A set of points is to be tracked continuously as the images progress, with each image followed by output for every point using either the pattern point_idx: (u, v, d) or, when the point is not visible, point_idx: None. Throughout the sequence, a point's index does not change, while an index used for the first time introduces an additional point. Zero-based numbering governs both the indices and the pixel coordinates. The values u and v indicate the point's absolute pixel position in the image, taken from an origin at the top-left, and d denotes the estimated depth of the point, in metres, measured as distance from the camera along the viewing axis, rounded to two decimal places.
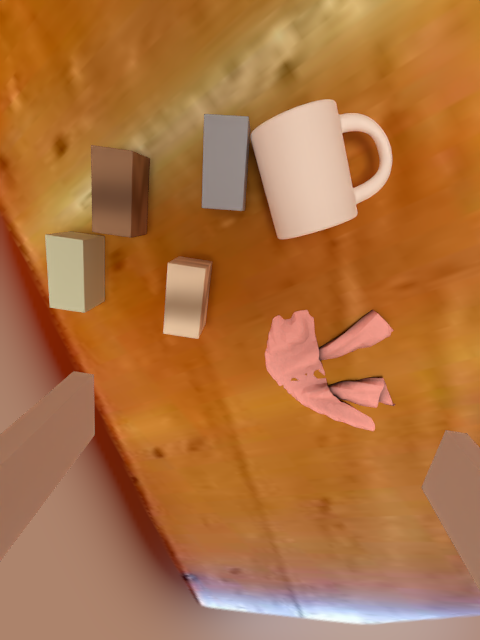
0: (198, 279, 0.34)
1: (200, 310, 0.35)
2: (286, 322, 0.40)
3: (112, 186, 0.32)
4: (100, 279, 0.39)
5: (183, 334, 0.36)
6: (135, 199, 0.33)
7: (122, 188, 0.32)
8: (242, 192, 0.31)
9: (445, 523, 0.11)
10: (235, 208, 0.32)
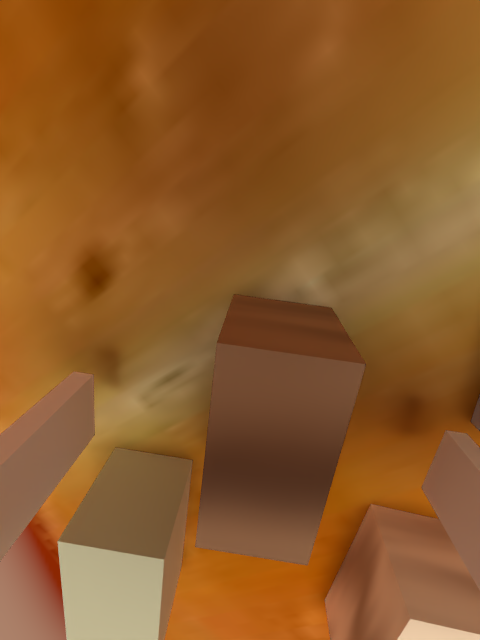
0: None
1: None
2: None
3: (273, 451, 0.10)
4: (180, 549, 0.17)
5: None
6: None
7: (307, 460, 0.10)
8: None
9: (445, 523, 0.11)
10: None
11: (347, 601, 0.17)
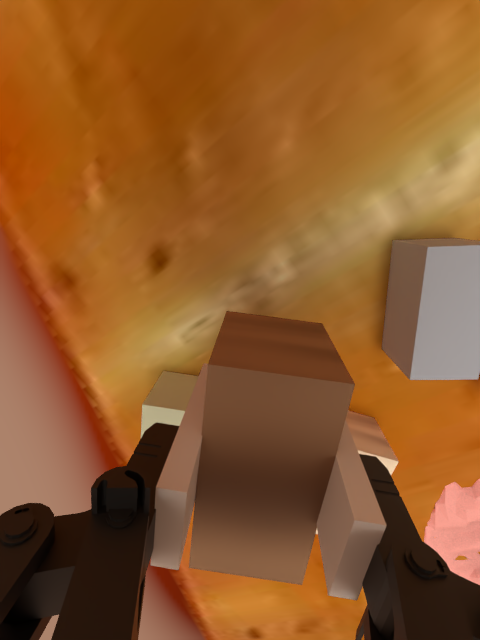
0: None
1: None
2: (464, 491, 0.28)
3: (265, 471, 0.10)
4: None
5: None
6: None
7: (299, 479, 0.10)
8: None
9: None
10: (466, 377, 0.20)
11: None
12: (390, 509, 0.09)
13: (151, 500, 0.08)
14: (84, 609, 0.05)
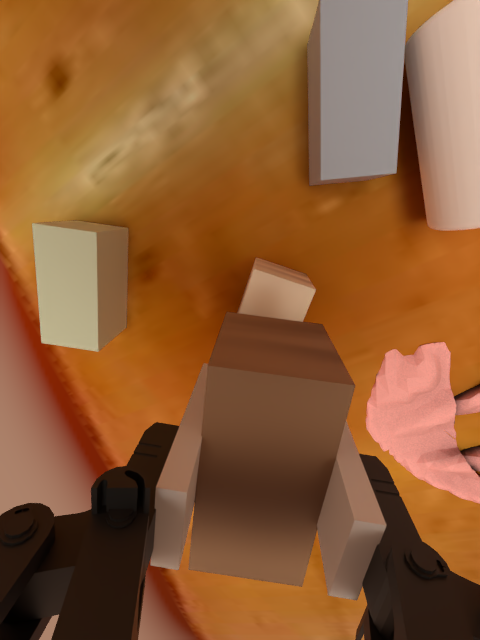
0: (298, 304, 0.20)
1: None
2: (406, 361, 0.26)
3: (265, 473, 0.10)
4: (121, 295, 0.25)
5: None
6: None
7: (299, 481, 0.10)
8: (396, 138, 0.17)
9: None
10: (383, 170, 0.17)
11: None
12: (390, 509, 0.09)
13: (151, 500, 0.08)
14: (84, 609, 0.05)
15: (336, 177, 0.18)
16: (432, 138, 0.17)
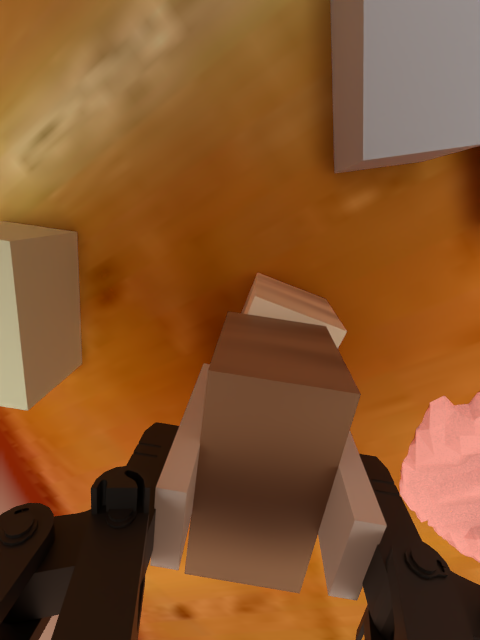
0: None
1: None
2: (458, 411, 0.19)
3: (265, 480, 0.10)
4: (69, 325, 0.18)
5: None
6: None
7: (300, 489, 0.10)
8: None
9: None
10: (468, 140, 0.11)
11: None
12: (390, 509, 0.09)
13: (151, 500, 0.08)
14: (84, 609, 0.05)
15: (389, 154, 0.11)
16: None
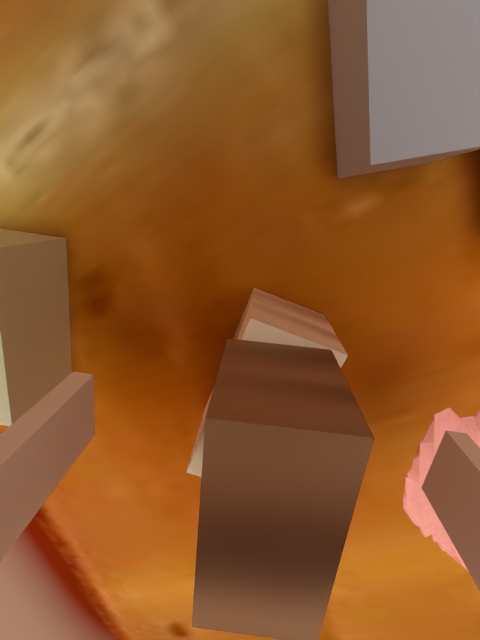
0: None
1: None
2: (463, 424, 0.18)
3: (273, 530, 0.09)
4: (58, 335, 0.17)
5: None
6: None
7: (312, 538, 0.09)
8: None
9: (445, 523, 0.11)
10: None
11: None
12: None
13: None
14: None
15: (398, 158, 0.10)
16: None
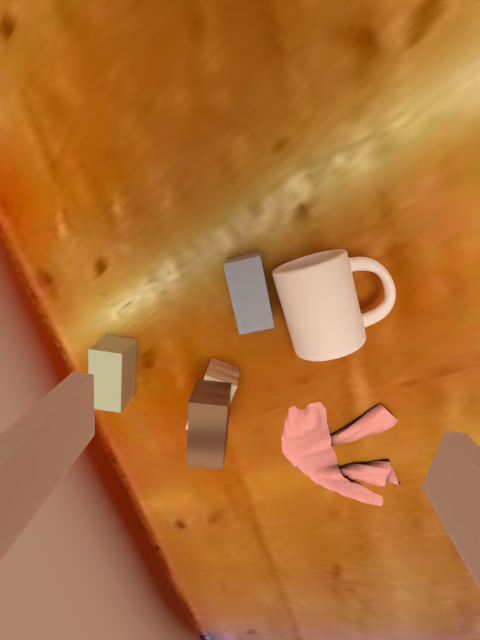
0: None
1: None
2: (300, 412, 0.44)
3: (207, 431, 0.34)
4: (132, 377, 0.43)
5: None
6: (225, 435, 0.35)
7: (216, 433, 0.34)
8: (270, 313, 0.35)
9: (445, 523, 0.11)
10: (268, 327, 0.36)
11: None
12: None
13: None
14: None
15: (246, 332, 0.36)
16: (285, 316, 0.35)
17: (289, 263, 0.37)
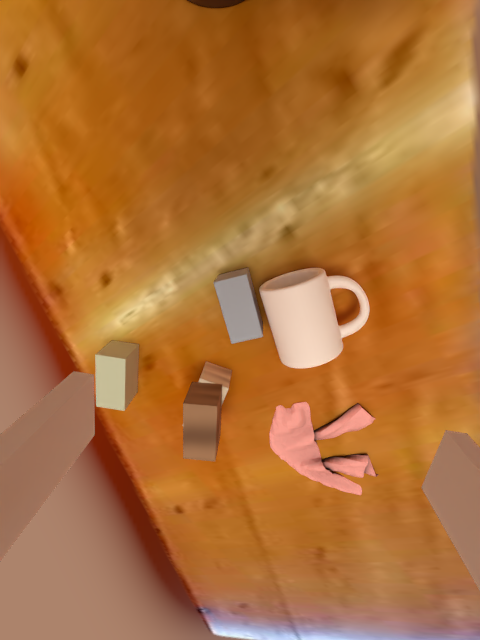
0: None
1: None
2: (287, 411, 0.48)
3: (200, 428, 0.39)
4: (135, 378, 0.47)
5: None
6: (217, 431, 0.40)
7: (209, 430, 0.39)
8: (258, 324, 0.39)
9: (445, 523, 0.11)
10: (257, 336, 0.40)
11: None
12: None
13: None
14: None
15: (238, 341, 0.40)
16: (271, 328, 0.39)
17: (275, 279, 0.41)
